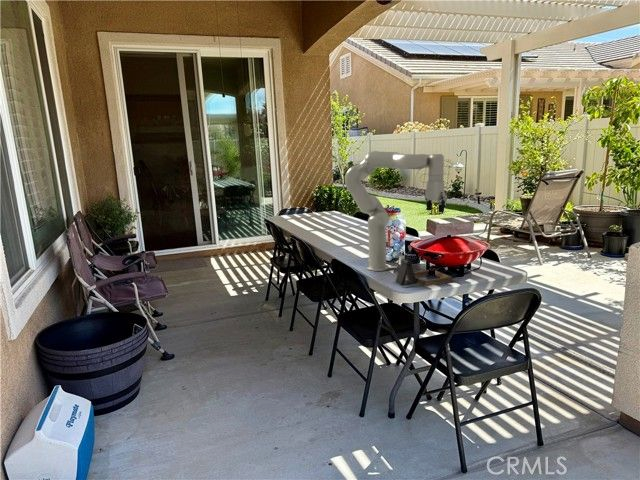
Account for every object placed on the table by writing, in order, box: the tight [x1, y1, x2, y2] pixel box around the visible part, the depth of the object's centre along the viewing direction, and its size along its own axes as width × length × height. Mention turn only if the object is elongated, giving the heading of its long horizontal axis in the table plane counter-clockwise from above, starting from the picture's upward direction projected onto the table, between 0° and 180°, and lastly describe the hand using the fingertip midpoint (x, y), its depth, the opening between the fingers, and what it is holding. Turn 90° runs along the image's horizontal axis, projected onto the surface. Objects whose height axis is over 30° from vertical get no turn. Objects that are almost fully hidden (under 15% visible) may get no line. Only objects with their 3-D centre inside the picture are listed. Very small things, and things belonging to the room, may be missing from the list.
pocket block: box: [406, 269, 453, 287], centre depth 226 cm, size 16×16×2 cm
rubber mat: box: [392, 278, 422, 289], centre depth 221 cm, size 10×10×1 cm
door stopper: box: [394, 257, 417, 286], centre depth 220 cm, size 9×6×12 cm, turn 107°
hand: (435, 211), depth 233 cm, fingers open, 9 cm apart
